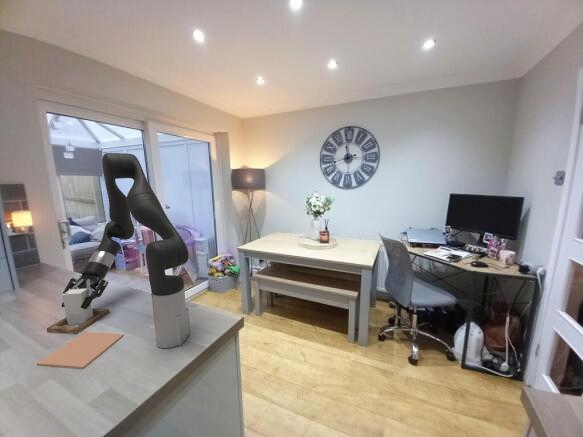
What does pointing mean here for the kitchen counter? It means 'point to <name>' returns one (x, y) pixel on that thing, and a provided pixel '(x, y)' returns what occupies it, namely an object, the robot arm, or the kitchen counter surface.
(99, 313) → the walnut collar
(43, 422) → the kitchen counter surface
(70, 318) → the skincare box
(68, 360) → the terracotta mat
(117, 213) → the robot arm
